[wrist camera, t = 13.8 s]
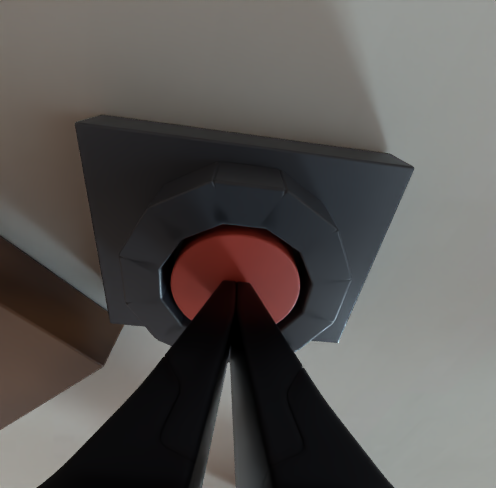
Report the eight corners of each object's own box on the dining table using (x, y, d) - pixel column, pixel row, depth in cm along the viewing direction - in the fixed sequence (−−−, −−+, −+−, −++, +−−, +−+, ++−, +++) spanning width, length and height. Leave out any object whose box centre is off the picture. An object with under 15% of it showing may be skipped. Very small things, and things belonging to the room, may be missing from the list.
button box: (391, 153, 10) (453, 188, 7) (329, 315, 14) (351, 381, 11) (100, 114, 9) (30, 133, 6) (124, 296, 13) (89, 361, 10)
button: (304, 218, 9) (314, 242, 8) (281, 308, 11) (286, 339, 10) (180, 203, 9) (169, 226, 8) (180, 298, 11) (170, 329, 10)
